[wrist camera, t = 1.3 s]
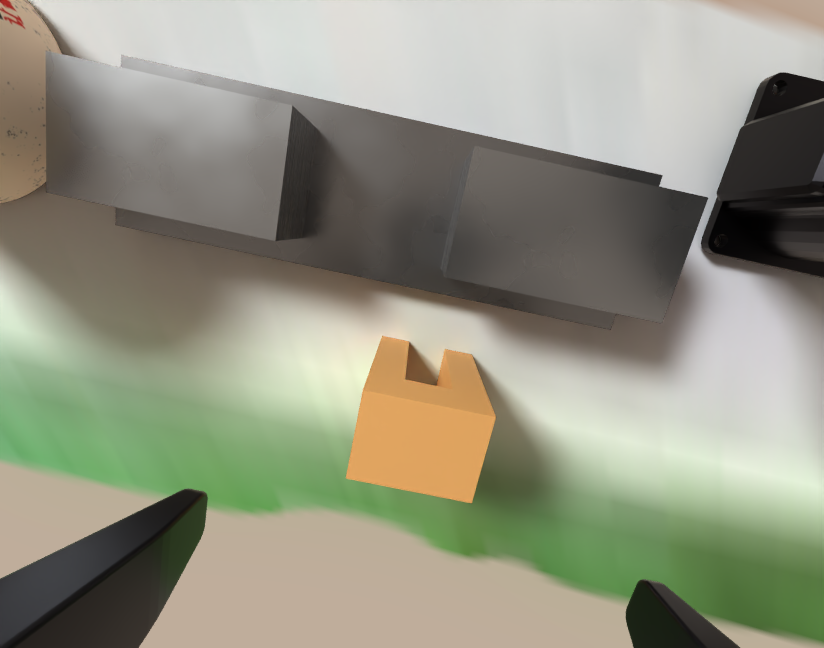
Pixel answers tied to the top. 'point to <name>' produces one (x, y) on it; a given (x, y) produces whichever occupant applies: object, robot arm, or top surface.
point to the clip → (422, 426)
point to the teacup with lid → (22, 98)
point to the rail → (365, 191)
